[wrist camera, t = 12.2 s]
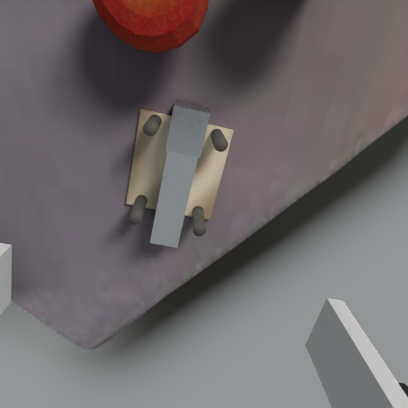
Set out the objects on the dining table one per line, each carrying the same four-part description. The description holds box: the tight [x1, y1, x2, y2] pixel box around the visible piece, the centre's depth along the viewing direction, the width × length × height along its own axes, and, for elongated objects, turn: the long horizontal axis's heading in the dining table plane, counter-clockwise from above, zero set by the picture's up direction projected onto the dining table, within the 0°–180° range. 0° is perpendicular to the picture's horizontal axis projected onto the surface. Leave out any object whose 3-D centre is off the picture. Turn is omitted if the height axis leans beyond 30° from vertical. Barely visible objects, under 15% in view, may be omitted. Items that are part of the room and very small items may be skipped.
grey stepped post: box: [150, 100, 210, 248], centre depth 41 cm, size 17×4×6 cm, turn 167°
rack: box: [126, 109, 233, 236], centre depth 41 cm, size 12×13×7 cm
